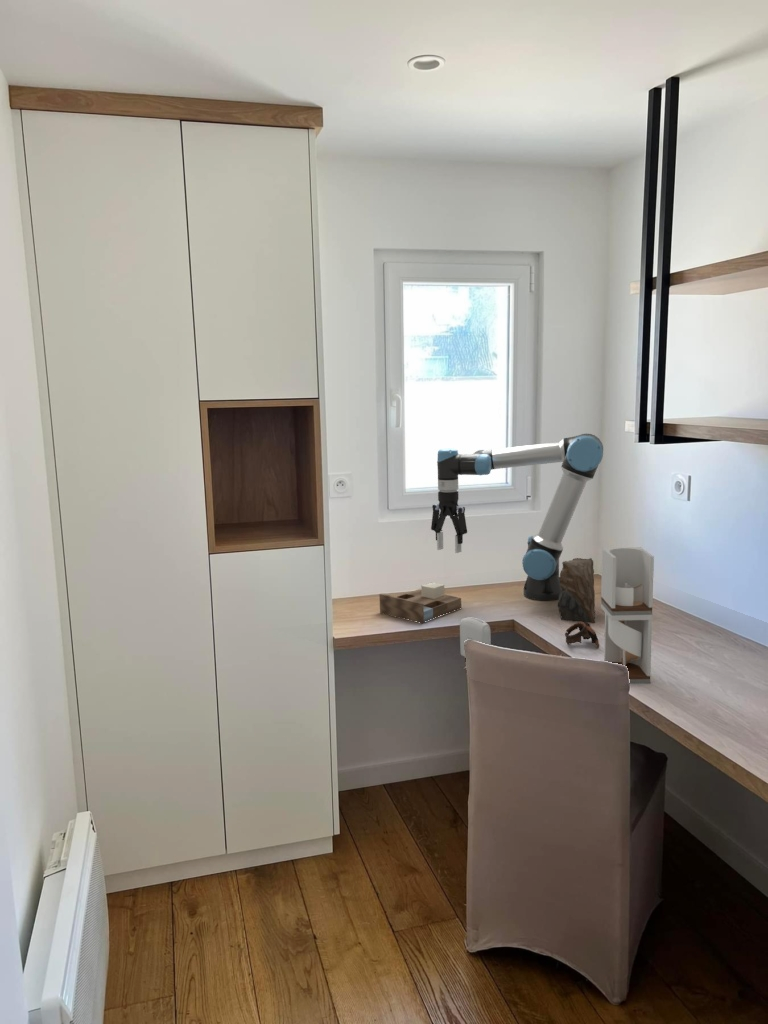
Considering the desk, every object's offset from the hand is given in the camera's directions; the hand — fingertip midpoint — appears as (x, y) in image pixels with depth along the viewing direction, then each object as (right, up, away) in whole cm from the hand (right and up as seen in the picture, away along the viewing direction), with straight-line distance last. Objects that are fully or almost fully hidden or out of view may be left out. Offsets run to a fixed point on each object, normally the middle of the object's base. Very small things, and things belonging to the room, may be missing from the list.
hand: (449, 550), depth 284 cm
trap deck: (-11, -21, -9) cm, 26 cm away
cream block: (-6, -16, -5) cm, 18 cm away
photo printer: (+3, -30, -57) cm, 64 cm away
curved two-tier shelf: (+42, -31, -74) cm, 91 cm away
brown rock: (+43, -22, -23) cm, 54 cm away
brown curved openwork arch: (+37, -27, -49) cm, 67 cm away
